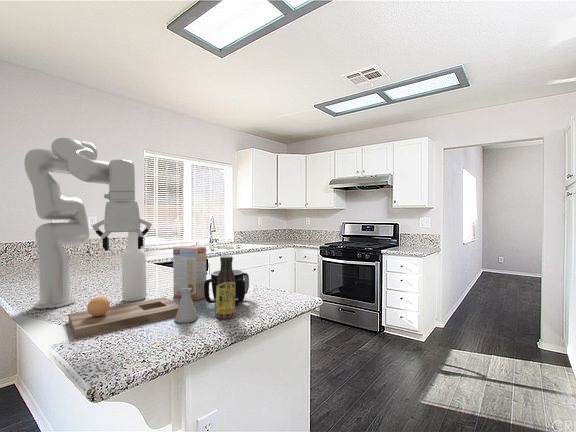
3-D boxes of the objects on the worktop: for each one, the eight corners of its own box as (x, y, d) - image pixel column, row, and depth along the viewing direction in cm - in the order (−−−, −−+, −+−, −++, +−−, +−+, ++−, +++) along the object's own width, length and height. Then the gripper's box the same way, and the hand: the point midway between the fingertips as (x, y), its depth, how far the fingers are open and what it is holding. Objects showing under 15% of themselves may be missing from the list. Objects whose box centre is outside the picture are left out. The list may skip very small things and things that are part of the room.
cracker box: (207, 297, 125) (206, 246, 125) (195, 301, 119) (195, 248, 119) (184, 293, 132) (184, 245, 132) (173, 296, 127) (172, 246, 127)
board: (68, 321, 98) (68, 314, 98) (164, 303, 117) (164, 296, 117) (75, 338, 84) (74, 329, 84) (182, 314, 103) (182, 307, 103)
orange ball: (86, 315, 96) (85, 296, 96) (107, 311, 100) (107, 293, 100) (88, 320, 91) (88, 300, 91) (111, 316, 95) (111, 296, 95)
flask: (190, 324, 94) (190, 292, 94) (169, 323, 95) (169, 291, 95) (202, 316, 101) (201, 286, 101) (182, 315, 102) (181, 286, 102)
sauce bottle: (218, 321, 96) (217, 258, 96) (213, 315, 102) (212, 256, 102) (238, 317, 99) (237, 257, 99) (232, 312, 105) (231, 254, 105)
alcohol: (130, 303, 118) (129, 226, 118) (117, 300, 123) (116, 225, 123) (150, 297, 125) (149, 225, 125) (138, 295, 130) (137, 225, 130)
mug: (214, 297, 125) (214, 268, 125) (253, 298, 123) (252, 268, 123) (199, 309, 108) (198, 276, 108) (243, 310, 107) (242, 276, 107)
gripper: (89, 197, 94) (90, 252, 94) (150, 197, 100) (151, 249, 100) (94, 198, 101) (95, 250, 101) (151, 198, 107) (152, 247, 107)
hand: (123, 249), depth 101 cm, fingers open, 9 cm apart
